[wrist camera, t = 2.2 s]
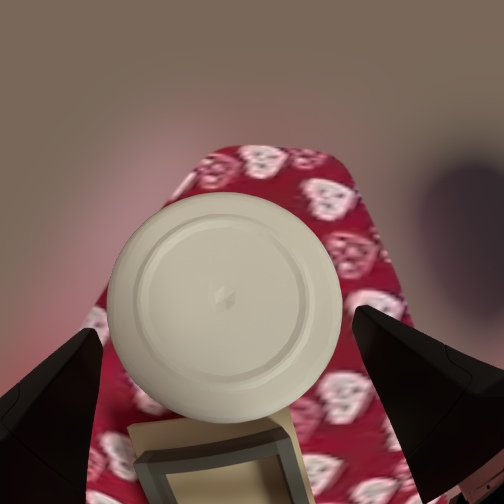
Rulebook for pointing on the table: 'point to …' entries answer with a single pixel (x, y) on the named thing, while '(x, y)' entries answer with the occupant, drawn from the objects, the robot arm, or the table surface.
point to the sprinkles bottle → (224, 307)
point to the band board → (221, 461)
